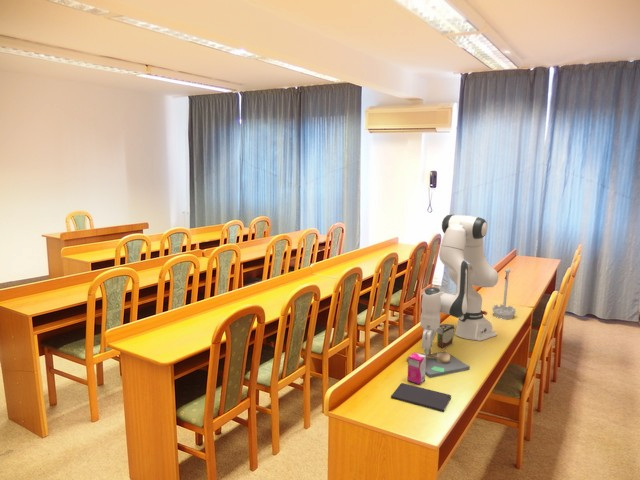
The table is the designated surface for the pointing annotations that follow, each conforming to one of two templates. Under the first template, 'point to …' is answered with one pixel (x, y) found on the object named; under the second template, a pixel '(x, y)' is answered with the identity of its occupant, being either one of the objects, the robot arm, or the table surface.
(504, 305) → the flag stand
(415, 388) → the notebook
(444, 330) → the brown cream half-round block
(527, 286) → the table surface
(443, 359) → the tan wooden handled piece
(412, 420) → the table surface
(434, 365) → the flat gray board
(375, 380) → the table surface
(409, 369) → the supplement box
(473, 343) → the table surface
